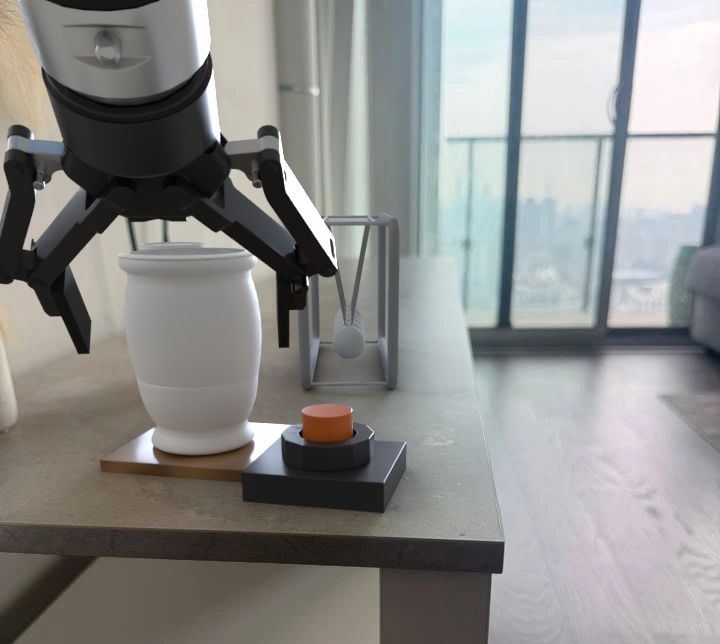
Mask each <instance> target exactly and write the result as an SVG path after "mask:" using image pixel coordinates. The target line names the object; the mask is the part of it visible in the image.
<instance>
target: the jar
mask: <svg viewBox="0 0 720 644" xmlns="http://www.w3.org/2000/svg"><path fill="white" fill-rule="evenodd" d="M117 257H118V259H117V264H118V267H119V268H120V269H121V270H122V271H123V272H125V273H126V278H127V279H126V280H127V282H126V286H125V291H124V292H125V293H124V330H125V331H124V332H125V339H126V345H127V350H128V355H129V358H130V361H131V364H132V368H133V371H134V373H135V376H136V382H137V388H138V391H139V394H140V398H141V399H142V403H143V405H144V408H145V410H146V412H147V414H148V415H149V417H150V419H151V420H152V421H153V423H155V426H156V428H155V430H154V432H153V434H152V438H151V441H152V444H153V445H154V446H155V447H156V448H157V449H159V450H161V451H164V452H168V453H172V454H178V455H209V454H217V453H223V452H228V451H231V450H235V449H238V448H240V447H243V446H245V445H246V444H248V443H249V442H251V441H252V439H253V438H254V430H253V428H252V426H251V425H250V423H251V422H249V420H248V417H249V416H250V415H251V413H252V410H253V407H254V405H255V402H256V397H257V393H258V384H259V371H260V365H261V357H262V356H261V354H262V342H263V341H262V339H263V336H262V332H263V331H262V318H261V311H260V303H259V299H258V295H257V291H256V287H255V286H256V285H255V284H254V283H255V282H254V280H253V278H252V270H253V269H254V268H255V267H256V265H257V264H258V258H257V257H255V256H254V255H253V254H251V253H250V252H249V251H247V250H246V249H245V248H236V247H235V248H233V247H206V248H165V249H149V250H140V249H139V250H131V251H127V252H124V253H119V254H117Z"/></svg>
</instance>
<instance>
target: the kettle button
mask: <svg viewBox="0 0 720 644" xmlns="http://www.w3.org/2000/svg"><path fill="white" fill-rule="evenodd" d="M353 412H354V411H353V409H352V407H350V406H347V405H345V404H344V405H343V404H339V403H338V404H337V403H320V404H319V403H318V404H313V405H309V406H306V407H304V408H302V410H301V423H302V433H303V438H304V439H308V440H311V441H322V442H332V441H342V440H346V439H349V438H352V437H353V422H354V416H353Z"/></svg>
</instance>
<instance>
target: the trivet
mask: <svg viewBox="0 0 720 644" xmlns="http://www.w3.org/2000/svg"><path fill="white" fill-rule="evenodd" d="M249 423H250V425H251V426H252V428H253V430H254V438H253V439H252V441H251V442H249V443H248V444H246V445H245V446H243V447H240V448H238V449H235V450H231V451H228V452H223V453H217V454H209V455H178V454H172V453H168V452H164V451H161V450H159V449H157V448H156V447H155V446H154V445H153V444H152V441H151V438H152V434H153V432H154V430H155V428H156V425H155V426H153V427H152V428H150V429H148V430H147V431H145V432H143V433H142V434H141V435H139V436H137V437H135V438H134V439H132V440H130V441H129V442H127V443H125V444H123V445H121V446H120V447H118V448H117V449H115V450H114V451H112V452H110V453H109V454H107V455H105V456H104V457H102V458H100V459H99V467H100V472H103V473H117V474H129V475H141V476H142V475H143V476H156V477H167V478H178V479H179V478H180V479H181V478H182V479H192V480H193V479H194V480H205V481H206V480H207V481H219V482H234V483H242V480H241V472H242V471H243V470H244V469H246V468H247V467H248V466H249V465H250V464H251V463H252V462H253V461H254V460H255V459H256V458H257V457H259V456H260V455H261V454H262V453H263V452H264V451H265V450H266V449H267V448H268V447H269V446H270V445H272V444H273V443H274V442H275V441H276V440H277V439H278V438H279V437H280V436H281V433H282V432H283V431H284V430H285V429H286V428H287V427H289V426H292V425H293V424H281V423H263V422H249Z"/></svg>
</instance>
